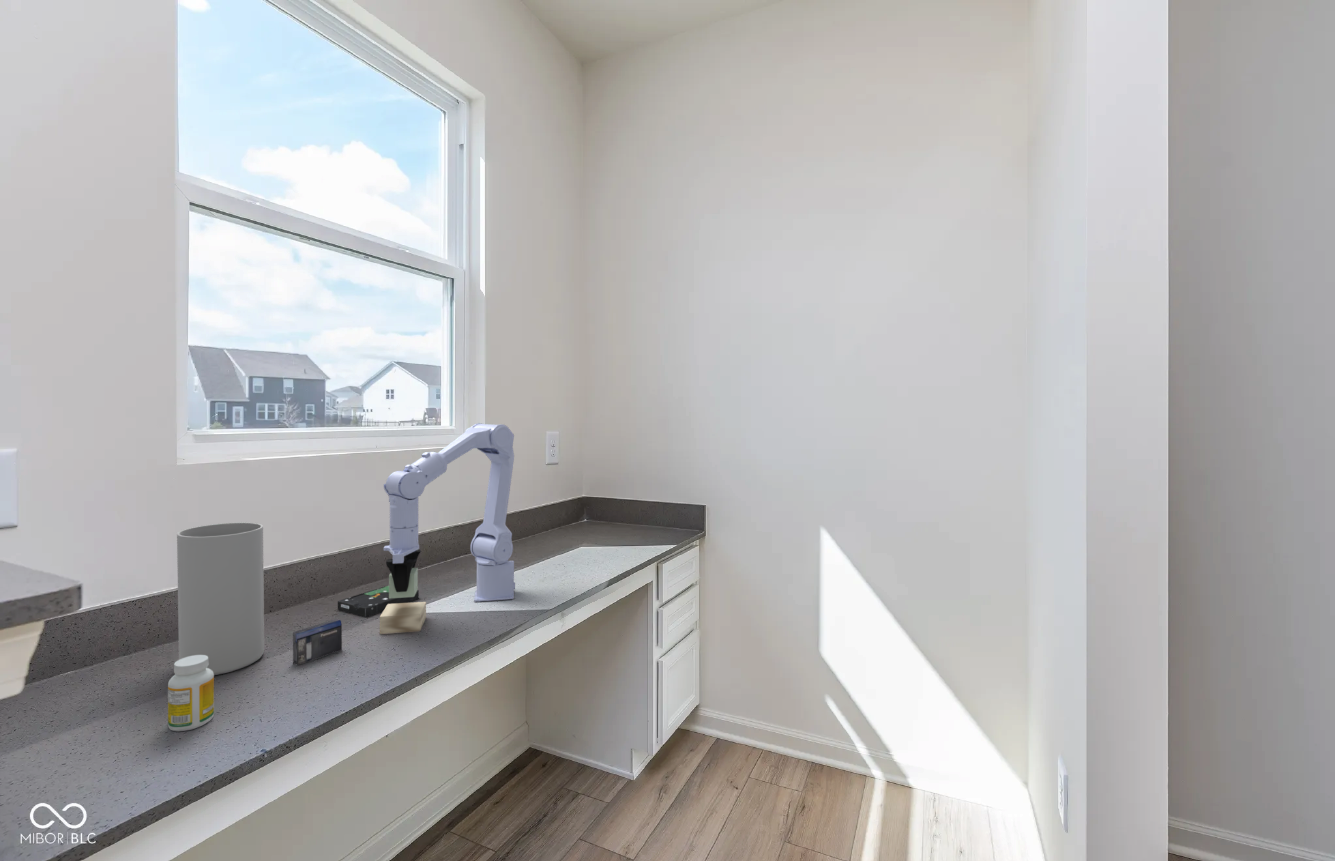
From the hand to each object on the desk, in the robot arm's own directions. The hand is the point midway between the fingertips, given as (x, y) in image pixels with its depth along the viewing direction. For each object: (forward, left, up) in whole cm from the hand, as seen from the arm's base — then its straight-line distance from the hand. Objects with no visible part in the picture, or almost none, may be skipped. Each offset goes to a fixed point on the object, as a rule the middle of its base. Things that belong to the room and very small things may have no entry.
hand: (403, 587), depth 125 cm
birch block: (0, 0, -9) cm, 9 cm away
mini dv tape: (+13, +13, -9) cm, 20 cm away
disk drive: (+8, -16, -9) cm, 20 cm away
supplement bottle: (+24, +34, -9) cm, 43 cm away
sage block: (0, 0, -1) cm, 1 cm away
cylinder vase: (+29, +12, -9) cm, 33 cm away
